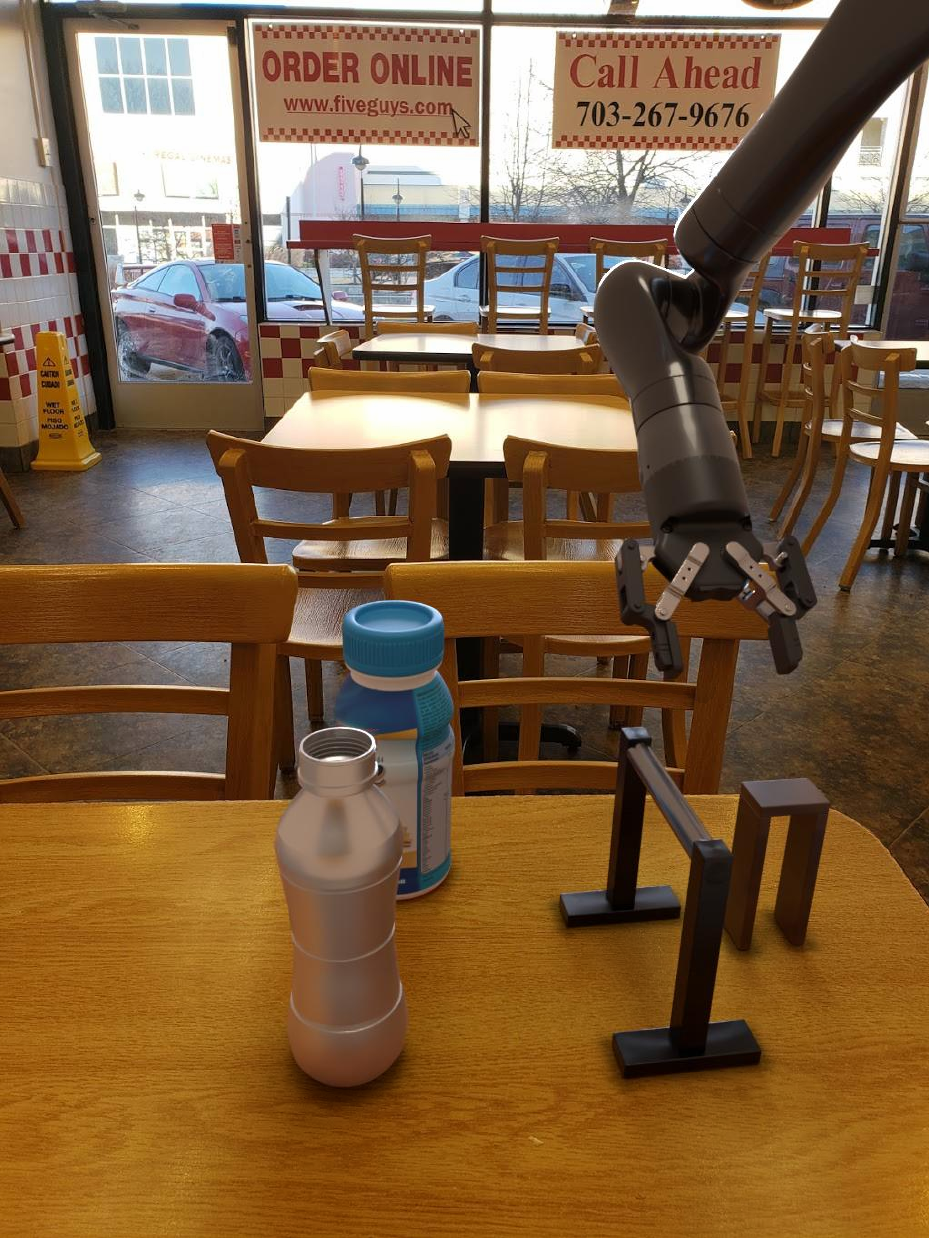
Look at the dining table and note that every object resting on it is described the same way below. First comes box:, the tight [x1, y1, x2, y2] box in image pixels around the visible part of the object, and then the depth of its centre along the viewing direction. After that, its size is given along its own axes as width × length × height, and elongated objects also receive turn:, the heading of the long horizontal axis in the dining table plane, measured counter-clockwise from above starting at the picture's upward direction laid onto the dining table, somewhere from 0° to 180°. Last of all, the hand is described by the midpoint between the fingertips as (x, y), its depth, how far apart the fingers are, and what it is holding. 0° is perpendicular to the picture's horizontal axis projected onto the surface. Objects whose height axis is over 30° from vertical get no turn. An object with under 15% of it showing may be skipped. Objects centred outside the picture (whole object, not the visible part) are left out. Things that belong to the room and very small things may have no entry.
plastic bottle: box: [273, 726, 409, 1088], centre depth 49 cm, size 6×7×20 cm
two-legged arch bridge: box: [724, 777, 831, 951], centre depth 61 cm, size 5×3×11 cm, turn 99°
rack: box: [558, 726, 763, 1079], centre depth 57 cm, size 8×15×14 cm, turn 8°
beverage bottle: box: [333, 599, 456, 901], centre depth 66 cm, size 8×8×20 cm
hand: (732, 673), depth 67 cm, fingers open, 8 cm apart
